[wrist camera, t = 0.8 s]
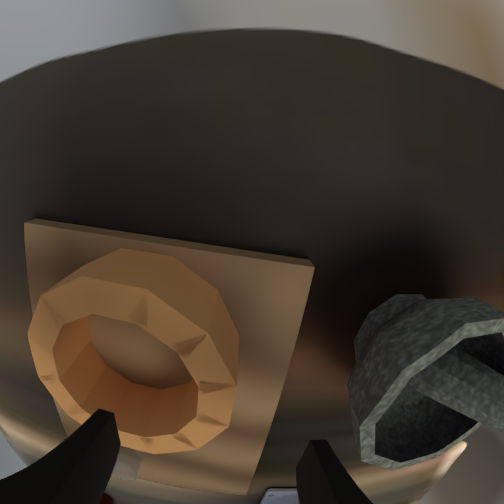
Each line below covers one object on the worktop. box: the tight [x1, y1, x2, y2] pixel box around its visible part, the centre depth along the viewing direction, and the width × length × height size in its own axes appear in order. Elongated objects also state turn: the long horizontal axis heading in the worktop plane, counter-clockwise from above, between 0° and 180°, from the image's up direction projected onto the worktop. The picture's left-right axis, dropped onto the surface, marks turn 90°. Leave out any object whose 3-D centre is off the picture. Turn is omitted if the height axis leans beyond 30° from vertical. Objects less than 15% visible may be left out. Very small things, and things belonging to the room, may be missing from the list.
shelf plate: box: [24, 219, 315, 495], centre depth 15 cm, size 22×16×5 cm
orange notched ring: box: [27, 248, 239, 454], centre depth 13 cm, size 10×10×4 cm
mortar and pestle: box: [348, 294, 504, 470], centre depth 11 cm, size 11×9×12 cm
